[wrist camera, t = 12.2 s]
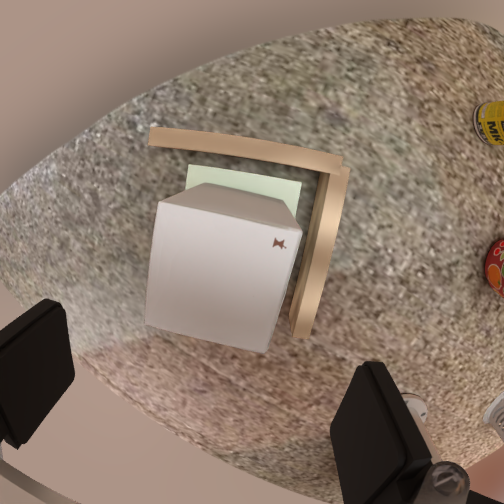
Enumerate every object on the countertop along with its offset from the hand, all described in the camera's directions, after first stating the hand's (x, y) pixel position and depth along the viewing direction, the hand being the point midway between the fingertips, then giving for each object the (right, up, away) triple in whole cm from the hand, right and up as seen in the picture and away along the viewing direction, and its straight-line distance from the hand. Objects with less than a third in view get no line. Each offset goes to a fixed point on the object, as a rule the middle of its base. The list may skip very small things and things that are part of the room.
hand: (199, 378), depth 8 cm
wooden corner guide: (0, +6, +19) cm, 20 cm away
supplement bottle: (+28, +18, +15) cm, 36 cm away
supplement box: (0, +6, +19) cm, 20 cm away
